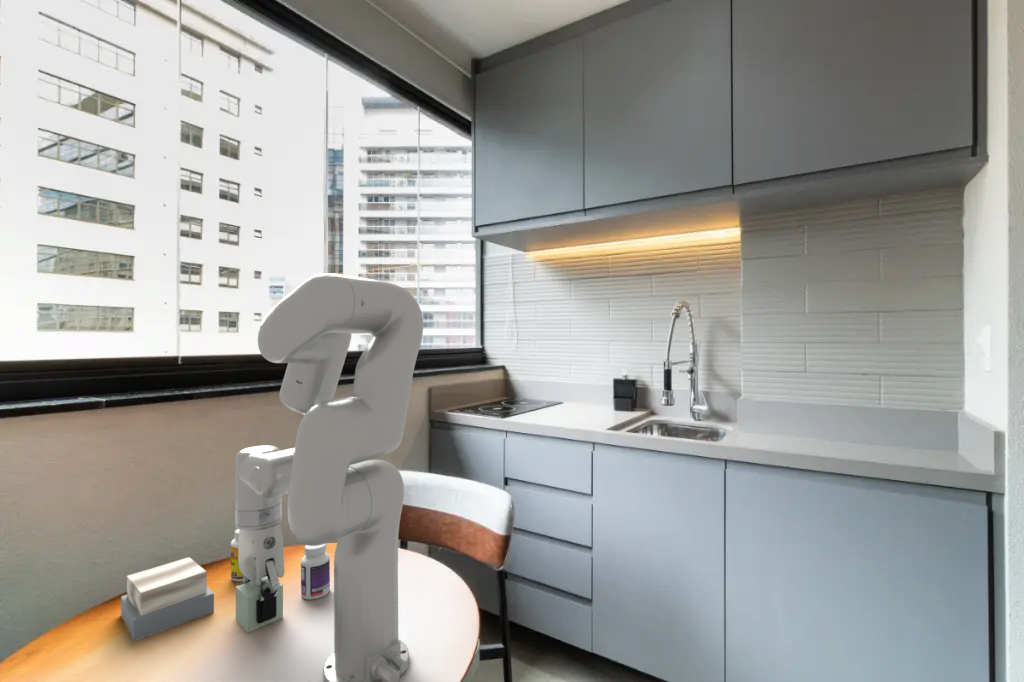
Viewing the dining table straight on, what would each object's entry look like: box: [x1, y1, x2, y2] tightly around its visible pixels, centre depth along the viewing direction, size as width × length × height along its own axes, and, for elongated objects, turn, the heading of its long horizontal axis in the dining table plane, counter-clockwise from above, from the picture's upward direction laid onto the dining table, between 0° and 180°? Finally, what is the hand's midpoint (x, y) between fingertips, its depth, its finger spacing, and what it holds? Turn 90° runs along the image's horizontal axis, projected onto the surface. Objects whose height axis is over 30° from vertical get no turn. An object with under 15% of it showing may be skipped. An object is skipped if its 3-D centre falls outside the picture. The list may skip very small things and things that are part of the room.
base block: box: [120, 585, 215, 642], centre depth 89 cm, size 12×12×4 cm
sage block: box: [235, 576, 284, 633], centre depth 87 cm, size 6×6×6 cm
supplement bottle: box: [230, 528, 243, 583], centre depth 104 cm, size 6×6×10 cm
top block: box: [126, 556, 208, 616], centre depth 89 cm, size 10×10×4 cm
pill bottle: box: [300, 543, 331, 601], centre depth 96 cm, size 5×5×10 cm
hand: (259, 612), depth 87 cm, fingers closed on sage block, 6 cm apart
